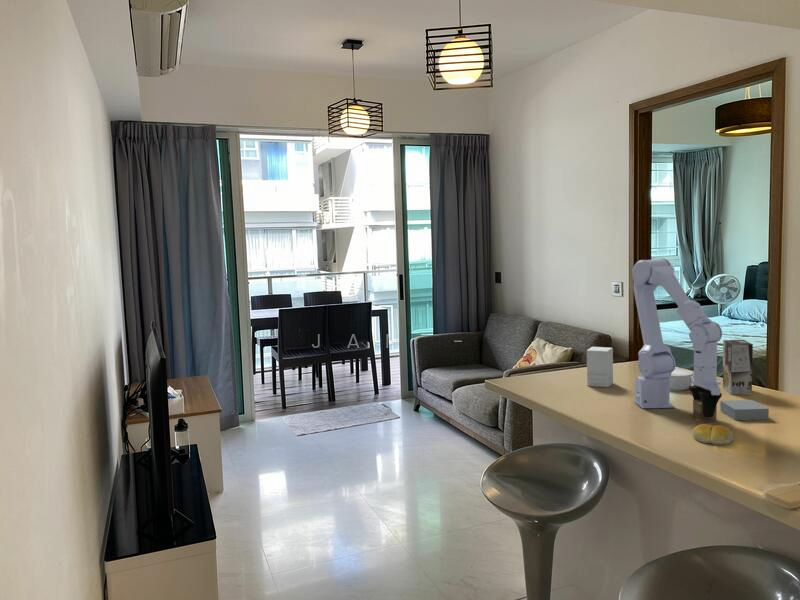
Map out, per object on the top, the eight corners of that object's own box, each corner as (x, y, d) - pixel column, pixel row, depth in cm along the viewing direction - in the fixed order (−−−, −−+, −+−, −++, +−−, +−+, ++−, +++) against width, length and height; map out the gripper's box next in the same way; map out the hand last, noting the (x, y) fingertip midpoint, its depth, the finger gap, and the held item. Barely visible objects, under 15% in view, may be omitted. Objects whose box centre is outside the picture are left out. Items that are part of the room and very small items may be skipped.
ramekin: (653, 389, 210) (653, 373, 210) (660, 382, 220) (660, 367, 219) (690, 393, 204) (690, 377, 204) (695, 385, 214) (695, 370, 213)
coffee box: (752, 395, 199) (753, 344, 197) (730, 394, 200) (731, 344, 198) (743, 387, 208) (744, 339, 206) (721, 387, 209) (722, 339, 207)
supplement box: (613, 383, 220) (613, 347, 219) (608, 388, 214) (608, 351, 213) (592, 381, 224) (592, 346, 223) (586, 385, 218) (586, 349, 217)
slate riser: (734, 420, 175) (734, 409, 174) (720, 410, 184) (720, 400, 183) (768, 419, 174) (768, 408, 174) (752, 410, 183) (752, 400, 183)
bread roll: (697, 433, 166) (697, 418, 166) (735, 439, 160) (735, 423, 160) (688, 441, 160) (688, 426, 159) (727, 448, 154) (727, 432, 154)
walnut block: (699, 421, 174) (699, 404, 174) (693, 416, 179) (693, 399, 178) (716, 421, 174) (716, 403, 174) (709, 416, 179) (709, 399, 178)
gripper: (732, 371, 167) (731, 421, 169) (708, 360, 182) (708, 406, 183) (704, 372, 168) (704, 422, 169) (683, 361, 182) (683, 407, 184)
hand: (704, 414), depth 176 cm, fingers closed on walnut block, 4 cm apart
